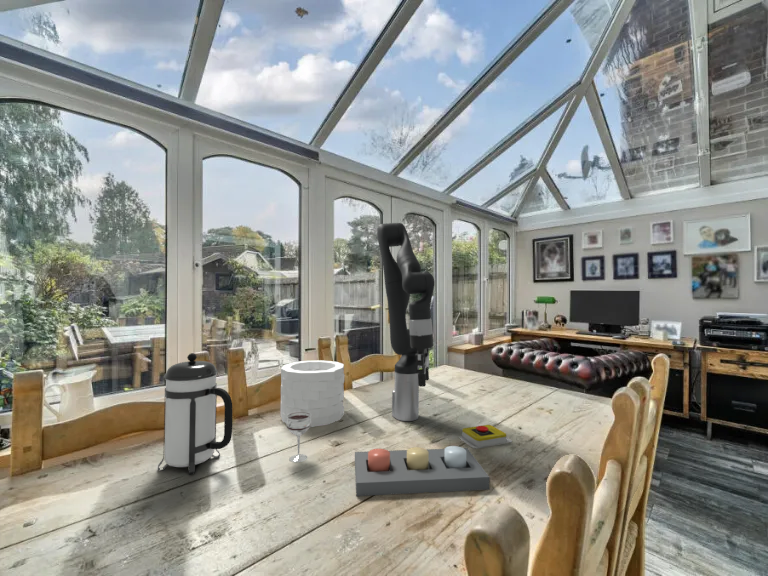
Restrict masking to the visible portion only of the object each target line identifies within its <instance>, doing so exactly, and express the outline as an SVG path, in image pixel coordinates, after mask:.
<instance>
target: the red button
mask: <svg viewBox="0 0 768 576" xmlns="http://www.w3.org/2000/svg"><path fill="white" fill-rule="evenodd" d="M389 451H390V450H388V449H385V448H374V449H373V448H372V449H370V450H369V452H368V471H367V472H380V471H390V452H389Z"/></svg>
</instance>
